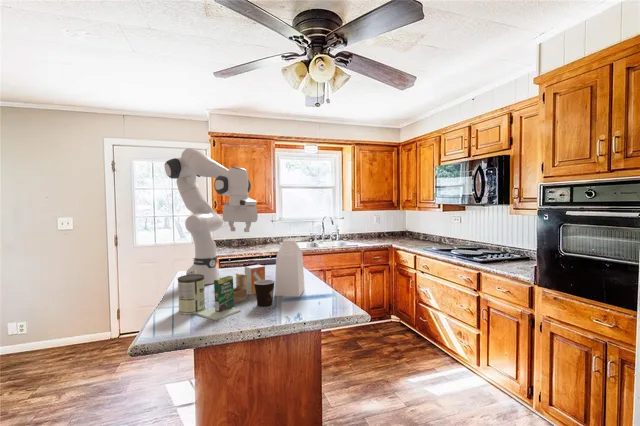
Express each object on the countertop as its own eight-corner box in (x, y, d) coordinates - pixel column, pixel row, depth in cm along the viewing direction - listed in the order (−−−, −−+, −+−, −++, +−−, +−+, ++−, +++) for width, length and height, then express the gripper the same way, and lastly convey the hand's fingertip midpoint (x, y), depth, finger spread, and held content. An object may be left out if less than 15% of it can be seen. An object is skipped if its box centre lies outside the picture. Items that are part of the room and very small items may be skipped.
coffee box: (218, 312, 127) (218, 280, 126) (214, 311, 128) (213, 279, 128) (234, 307, 133) (233, 276, 133) (229, 305, 135) (229, 275, 135)
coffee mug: (262, 309, 132) (262, 285, 131) (250, 305, 137) (250, 282, 137) (284, 302, 140) (283, 280, 140) (271, 298, 146) (271, 277, 146)
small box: (251, 295, 152) (251, 268, 152) (244, 292, 157) (244, 266, 156) (265, 291, 158) (265, 265, 157) (258, 289, 162) (258, 264, 162)
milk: (304, 289, 161) (303, 238, 160) (299, 296, 149) (298, 241, 149) (281, 288, 163) (281, 238, 162) (274, 295, 152) (273, 241, 151)
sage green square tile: (196, 314, 127) (196, 313, 127) (221, 306, 137) (221, 304, 137) (215, 320, 120) (215, 319, 120) (240, 311, 130) (240, 309, 130)
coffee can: (182, 307, 136) (181, 274, 135) (207, 305, 138) (206, 273, 137) (175, 315, 126) (174, 280, 125) (202, 313, 128) (201, 279, 127)
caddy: (217, 302, 141) (217, 278, 141) (238, 296, 151) (237, 273, 151) (227, 305, 138) (226, 280, 137) (247, 298, 147) (246, 274, 147)
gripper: (219, 202, 150) (219, 231, 151) (249, 201, 139) (249, 233, 139) (229, 202, 155) (230, 230, 156) (259, 201, 144) (260, 231, 144)
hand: (239, 231), depth 147 cm, fingers open, 8 cm apart
